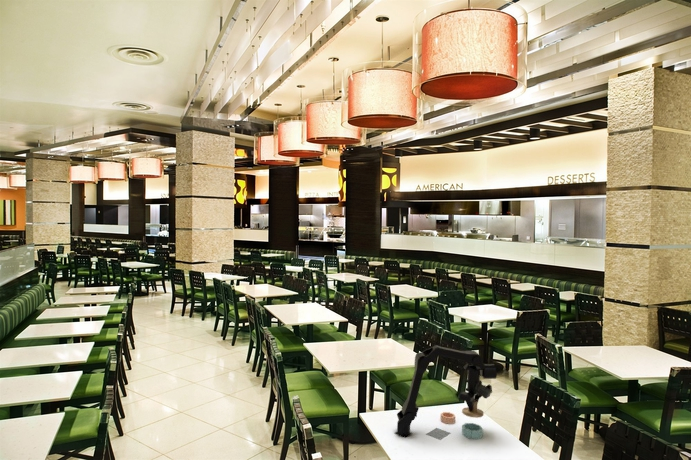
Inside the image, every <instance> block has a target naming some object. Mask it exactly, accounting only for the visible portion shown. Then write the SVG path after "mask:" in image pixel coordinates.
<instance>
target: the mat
mask: <svg viewBox="0 0 691 460" xmlns="http://www.w3.org/2000/svg"><path fill="white" fill-rule="evenodd" d="M450 434H452V433H451V432H449V431H447V430H444V429H441V428H438V427H436V428H434V429H432V430H430V431H429V432H427V433H425V435H427V436H429V437H432V438H434V439H437V440H439V441H441V440H442V439H444V438H446V437H448V436H449V435H450Z"/></svg>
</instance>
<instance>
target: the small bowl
mask: <svg viewBox="0 0 691 460" xmlns="http://www.w3.org/2000/svg"><path fill="white" fill-rule="evenodd" d="M439 417H440V422H441V423H443V424H445V425H453V424H455V422H456V415H455V413H453V412H450V411H448V412H447V411H443V412H441V413H440V416H439Z"/></svg>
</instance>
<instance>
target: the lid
mask: <svg viewBox="0 0 691 460" xmlns="http://www.w3.org/2000/svg"><path fill="white" fill-rule="evenodd" d="M461 413H462V414H463V415H464V416H466V417H469V418H482V417H484V416H485V413H484V411H483V410H482V409H480V408H478V404H477V401H474V405H473V411H472V412H471V411H470V410H469V408H468V406H467V407H464V408H462V409H461Z"/></svg>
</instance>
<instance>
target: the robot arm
mask: <svg viewBox="0 0 691 460" xmlns="http://www.w3.org/2000/svg"><path fill="white" fill-rule="evenodd" d="M439 356H440V357H445V358H451V359H453V360H459V361H463V362H465V363H466V364H464V366H463V368H464V369H465V370H466V371H467V379H465V383H467V384H466V385H467V386H466V388H465V391H462V392H460V393H459V394H458V399H459V400H460V401H464V402H465V403H466V405H467V407H468V408H469V410H470V411H471V412H472V411H473V405H474V401H477V405H478V403H479V400H480V399H481V397H482V398H483V399H488V398H489V397H490V396H491V394H492V393H493V387H492V385H491V384H487V385H486V384H485V385H484V384H483V381H482V380H481V377H482V379H484V380H486V379H487V380H490V379H491V380H492V379H494V380H496V379H497V378H498V373H497V369H496V365H495V363H490V364H489V363H483V361H482V360H483V358H482V357H481V355H480V354H479V353H478V352H477V351H475V350H458V349H455V348H454V349H453V348H450V347H445V346H444V347H443V346H439V345H437V344H435V345H434V346H432V347H429V348H426V349H425V350H423V351H422V352H421V351H420V352H417V353H416V354H415V357H414V372H413V374H412V380H411V384H410V387H409V391H408V394H407V398H406V400H405V401H403V404H402V407H401V409H400V411H398V412H397V413H396V416H397V419H398V420H397V424H396V425H397V426H396V427H397V428H396V429H397V430H396V431H395V432H394V434H395V435H398V436H399V437H402V438H408V437H410V436H411V435H413V432H411V424H412V422H413V421H414V420H415V419H416V418H417V416H418V412H419V409H420V408H419V407H418V405H417V400H418V396H419V391H420V388H421V384H422V379H423V377H424V374H425V372H426V371H427V370H428V368H429V365H430V364H431V363H432V362H433V361H434V360H435V359H437V358H438V357H439Z"/></svg>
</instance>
